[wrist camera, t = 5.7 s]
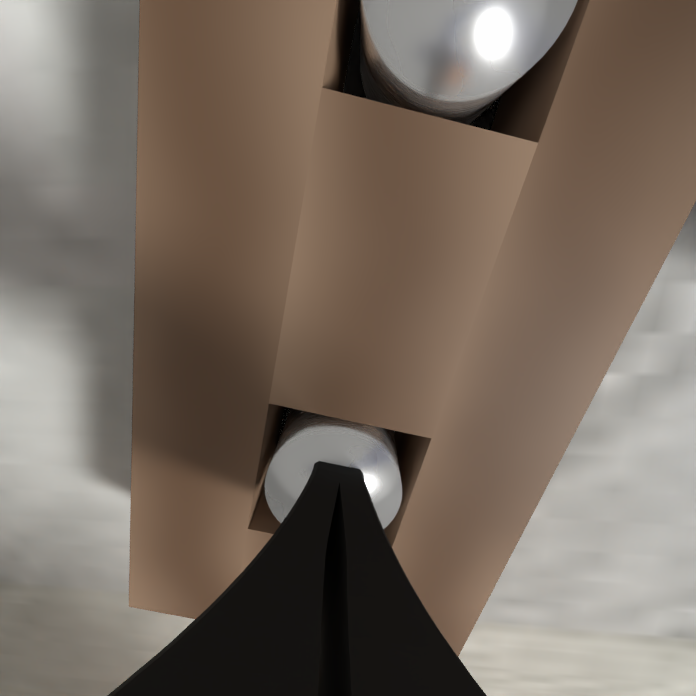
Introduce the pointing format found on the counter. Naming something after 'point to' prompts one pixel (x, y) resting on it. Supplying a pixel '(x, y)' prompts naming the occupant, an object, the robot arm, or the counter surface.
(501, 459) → the wooden peg board
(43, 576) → the counter surface
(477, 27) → the peg
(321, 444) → the peg
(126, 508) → the counter surface
